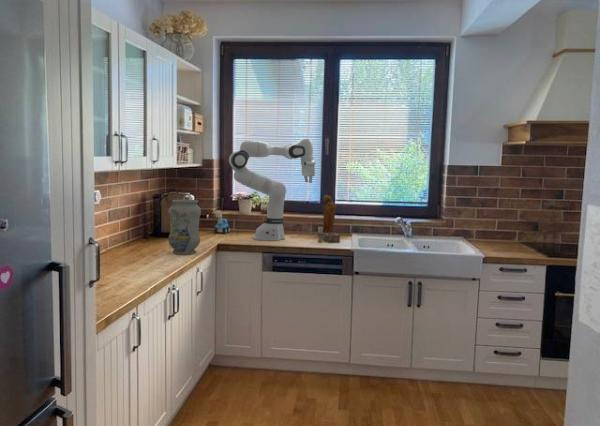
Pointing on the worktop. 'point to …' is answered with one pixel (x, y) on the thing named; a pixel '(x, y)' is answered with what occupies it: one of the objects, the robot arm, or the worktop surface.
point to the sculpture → (328, 214)
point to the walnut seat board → (331, 237)
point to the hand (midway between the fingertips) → (308, 182)
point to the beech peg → (320, 234)
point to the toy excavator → (221, 224)
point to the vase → (184, 226)
